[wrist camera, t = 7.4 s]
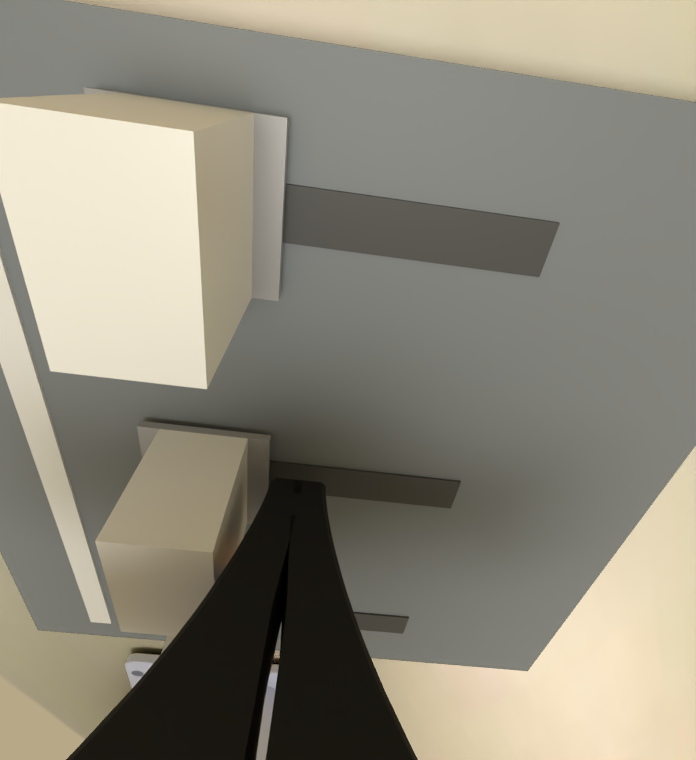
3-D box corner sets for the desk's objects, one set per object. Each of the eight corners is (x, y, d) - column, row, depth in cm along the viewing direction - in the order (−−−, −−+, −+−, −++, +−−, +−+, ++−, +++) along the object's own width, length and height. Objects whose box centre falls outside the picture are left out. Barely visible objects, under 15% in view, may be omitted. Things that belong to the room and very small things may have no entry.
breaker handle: (279, 296, 9) (245, 393, 6) (119, 276, 8) (10, 366, 6) (288, 117, 7) (246, 138, 4) (90, 87, 7) (-83, 90, 4)
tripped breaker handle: (266, 518, 12) (241, 642, 10) (154, 508, 12) (96, 629, 9) (271, 435, 11) (241, 555, 8) (140, 420, 10) (64, 538, 8)
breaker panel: (515, 630, 18) (528, 673, 17) (61, 590, 17) (36, 632, 16) (839, 130, 8) (930, 139, 7) (-183, -34, 7) (-302, -60, 6)
